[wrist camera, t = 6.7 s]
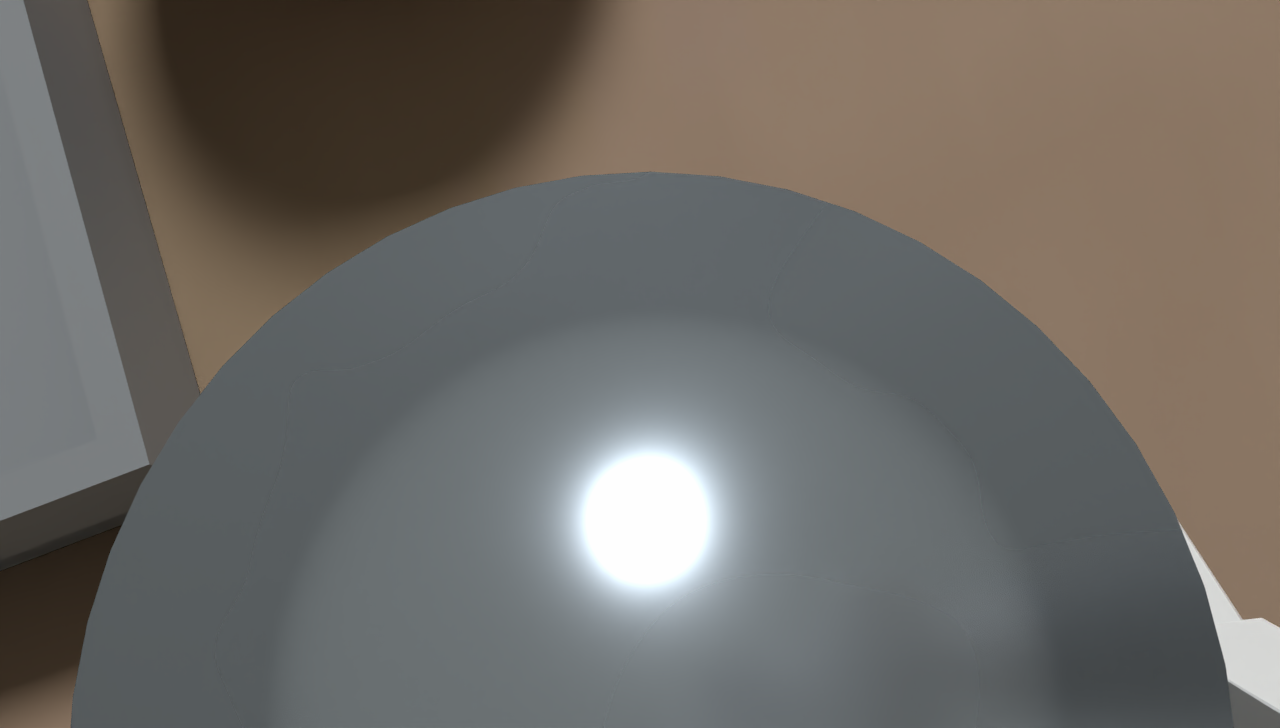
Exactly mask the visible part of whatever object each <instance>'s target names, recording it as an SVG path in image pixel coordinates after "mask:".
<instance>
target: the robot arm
mask: <svg viewBox="0 0 1280 728" xmlns="http://www.w3.org/2000/svg"><path fill="white" fill-rule="evenodd" d="M1178 522H1179V521H1178ZM1179 525H1180V527H1181V530H1182V532H1183V535H1184V537H1185V540H1186V542H1187V545H1188V547H1189V549H1190V552H1191V554H1192V557H1193V559H1194V562H1195V564H1196V567H1197V569H1198V572H1199V574H1200V576H1201V579H1202V581H1203V584H1204V586H1205V590H1206V594H1207V597H1208V601H1209V605H1210V609H1211V612H1212V616H1213V620H1214V624H1215V627H1216V631H1217V635H1218V639H1219V642H1220V646H1221V650H1222V654H1223V657H1224V661H1225V665H1226V672H1227V679H1228V686H1229V694H1230V701H1231V709H1232V716H1233V724H1234V728H1280V627H1278V626H1276V625H1274V624H1272V623H1270V622H1269V621H1267V620H1265V619H1263V618H1257V619H1248V620H1243V619H1242V618H1241V616H1240V615H1239V613H1238V612H1237V610H1236V608H1235V607H1234V605H1233V604H1232V602H1231V601H1230V599H1229V598H1228V596H1227V595H1226V593H1225V592H1224V590H1223V589H1222V587H1221V585H1220V584H1219V582H1218V581H1217V579H1216V578H1215V576H1214V575H1213V573H1212V572H1211V570H1210V569H1209V567H1208V566H1207V564H1206V562H1205V561H1204V559H1203V558H1202V556H1201V555H1200V553H1199V552H1198V550H1197V549H1196V547H1195V546H1194V544H1193V543H1192V541H1191V539H1190V538H1189V536H1188V535H1187V533H1186V532H1185V530H1184V529H1183V527H1182V526H1181V524H1180V523H1179Z"/></svg>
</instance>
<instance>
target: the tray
mask: <svg viewBox="0 0 1280 728" xmlns="http://www.w3.org/2000/svg"><path fill="white" fill-rule="evenodd" d="M199 396H200V392H199V389H198V385H197V382H196V378H195V375H194V371H193V368H192V364H191V361H190V357H189V354H188V350H187V347H186V343H185V340H184V336H183V333H182V329H181V326H180V322H179V319H178V315H177V312H176V308H175V305H174V301H173V298H172V294H171V291H170V287H169V284H168V281H167V277H166V274H165V270H164V267H163V263H162V260H161V256H160V253H159V249H158V246H157V242H156V239H155V235H154V232H153V228H152V225H151V221H150V218H149V214H148V211H147V207H146V204H145V200H144V197H143V193H142V190H141V186H140V183H139V179H138V176H137V172H136V169H135V165H134V162H133V158H132V155H131V151H130V148H129V144H128V141H127V137H126V134H125V131H124V127H123V124H122V120H121V117H120V113H119V110H118V106H117V103H116V99H115V96H114V92H113V89H112V85H111V82H110V78H109V75H108V71H107V68H106V64H105V61H104V57H103V54H102V50H101V47H100V43H99V40H98V36H97V33H96V29H95V26H94V22H93V19H92V15H91V12H90V8H89V5H88V1H87V0H0V571H1V570H4V569H7V568H9V567H12V566H14V565H17V564H20V563H22V562H25V561H28V560H30V559H33V558H36V557H38V556H41V555H43V554H46V553H49V552H51V551H54V550H57V549H59V548H62V547H65V546H67V545H70V544H72V543H75V542H78V541H80V540H83V539H86V538H88V537H91V536H94V535H96V534H99V533H102V532H104V531H107V530H109V529H112V528H115V527H117V526H120V525H122V524H123V522H124V520H125V518H126V516H127V514H128V511H129V509H130V507H131V505H132V503H133V500H134V498H135V496H136V494H137V492H138V489H139V487H140V485H141V483H142V482H143V480H144V478H145V477H146V475H147V473H148V472H149V470H150V468H151V467H152V465H153V463H154V462H155V460H156V459H157V457H158V455H159V454H160V452H161V450H162V449H163V447H164V445H165V444H166V442H167V440H168V439H169V437H170V436H171V434H172V432H173V431H174V429H175V427H176V426H177V424H178V422H179V421H180V420H181V419H182V417H183V416H184V415H185V413H186V412H187V411H188V410H189V408H190V407H191V406H192V405H193V403H194V402H195V401H196V399H197V398H198V397H199Z"/></svg>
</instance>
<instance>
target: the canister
mask: <svg viewBox="0 0 1280 728" xmlns="http://www.w3.org/2000/svg"><path fill="white" fill-rule="evenodd" d="M71 728H1234V724H1233V716H1232V709H1231V701H1230V694H1229V686H1228V679H1227V672H1226V665H1225V661H1224V657H1223V654H1222V650H1221V646H1220V642H1219V639H1218V635H1217V631H1216V627H1215V624H1214V620H1213V616H1212V612H1211V609H1210V605H1209V601H1208V597H1207V594H1206V590H1205V586H1204V584H1203V581H1202V579H1201V576H1200V574H1199V572H1198V569H1197V567H1196V564H1195V562H1194V559H1193V557H1192V554H1191V552H1190V549H1189V547H1188V545H1187V542H1186V540H1185V537H1184V535H1183V532H1182V530H1181V527H1180V525H1179V522H1178V520H1177V518H1176V515H1175V513H1174V511H1173V509H1172V507H1171V506H1170V504H1169V502H1168V500H1167V498H1166V497H1165V495H1164V493H1163V491H1162V489H1161V488H1160V486H1159V484H1158V482H1157V481H1156V479H1155V477H1154V475H1153V473H1152V472H1151V470H1150V468H1149V466H1148V465H1147V463H1146V461H1145V459H1144V457H1143V456H1142V454H1141V452H1140V450H1139V449H1138V447H1137V445H1136V443H1135V442H1134V441H1133V439H1132V438H1131V437H1130V435H1129V434H1128V433H1127V431H1126V430H1125V429H1124V427H1123V426H1122V424H1121V423H1120V422H1119V420H1118V419H1117V418H1116V416H1115V415H1114V414H1113V412H1112V411H1111V410H1110V408H1109V407H1108V406H1107V404H1106V403H1105V401H1104V400H1103V399H1102V397H1101V396H1100V395H1099V393H1098V392H1097V391H1096V389H1095V388H1094V387H1093V385H1092V384H1091V383H1090V381H1089V380H1088V379H1087V378H1086V377H1085V376H1084V375H1083V374H1082V373H1081V372H1080V371H1079V370H1078V369H1077V368H1076V367H1075V366H1074V365H1073V364H1072V362H1071V361H1070V360H1069V359H1068V358H1067V357H1066V356H1065V355H1064V354H1063V353H1062V352H1061V351H1060V350H1059V349H1058V348H1057V347H1056V346H1055V345H1054V344H1053V342H1052V341H1051V340H1050V339H1049V338H1048V337H1047V336H1046V335H1045V334H1044V333H1043V332H1042V331H1041V330H1040V329H1039V328H1038V327H1037V326H1036V325H1035V324H1033V323H1032V322H1031V321H1030V320H1028V319H1027V318H1026V317H1025V316H1024V315H1022V314H1021V313H1020V312H1019V311H1017V310H1016V309H1015V308H1014V307H1013V306H1011V305H1010V304H1009V303H1008V302H1007V301H1005V300H1004V299H1003V298H1002V297H1000V296H999V295H998V294H997V293H996V292H994V291H993V290H992V289H991V288H989V287H988V286H987V285H986V284H985V283H983V282H982V281H981V280H979V279H978V278H976V277H975V276H973V275H971V274H970V273H968V272H967V271H965V270H963V269H962V268H960V267H959V266H957V265H955V264H954V263H952V262H951V261H949V260H948V259H946V258H944V257H943V256H941V255H940V254H938V253H936V252H935V251H933V250H932V249H930V248H929V247H927V246H925V245H924V244H922V243H921V242H919V241H917V240H915V239H912V238H910V237H908V236H906V235H904V234H902V233H900V232H897V231H895V230H893V229H891V228H889V227H887V226H885V225H883V224H880V223H878V222H876V221H874V220H872V219H870V218H868V217H866V216H863V215H861V214H859V213H857V212H855V211H852V210H849V209H846V208H843V207H840V206H836V205H833V204H830V203H827V202H824V201H821V200H818V199H815V198H812V197H809V196H806V195H803V194H800V193H796V192H793V191H790V190H787V189H782V188H777V187H771V186H766V185H761V184H756V183H751V182H745V181H740V180H735V179H730V178H725V177H719V176H705V175H690V174H675V173H660V172H639V173H622V174H605V175H587V176H578V177H573V178H567V179H562V180H556V181H551V182H545V183H540V184H534V185H529V186H523V187H518V188H513V189H510V190H507V191H504V192H500V193H497V194H494V195H491V196H488V197H484V198H481V199H478V200H475V201H472V202H468V203H465V204H462V205H459V206H456V207H452V208H449V209H447V210H445V211H443V212H440V213H438V214H436V215H434V216H432V217H429V218H427V219H425V220H423V221H420V222H418V223H416V224H414V225H412V226H409V227H407V228H405V229H403V230H401V231H398V232H396V233H394V234H392V235H390V236H387V237H386V238H384V239H382V240H381V241H379V242H377V243H376V244H374V245H372V246H371V247H369V248H367V249H366V250H364V251H362V252H361V253H359V254H358V255H356V256H354V257H353V258H351V259H349V260H348V261H346V262H344V263H343V264H341V265H339V266H338V267H336V268H335V269H333V270H331V271H330V272H328V273H327V274H325V275H324V276H323V277H321V278H320V279H319V280H318V281H316V282H315V283H314V284H313V285H311V286H310V287H309V288H308V289H306V290H305V291H304V292H302V293H301V294H300V295H299V296H297V297H296V298H295V299H294V300H292V301H291V302H290V303H288V304H287V305H286V306H285V307H283V308H282V309H281V310H280V311H278V312H277V313H276V314H274V315H273V316H272V317H271V318H270V319H269V320H268V321H267V322H266V323H265V324H264V325H263V326H262V327H261V328H260V329H259V330H258V331H257V332H256V333H255V334H254V335H253V336H252V337H251V338H250V339H249V340H248V341H247V342H246V343H245V344H244V345H243V346H242V347H241V348H240V349H239V350H238V351H237V352H236V353H235V354H234V355H233V356H232V357H231V358H230V359H229V360H228V361H227V362H226V363H225V364H224V365H223V366H222V368H221V369H220V370H219V371H218V373H217V374H216V375H215V376H214V378H213V379H212V380H211V382H210V383H209V384H208V385H207V387H206V388H205V389H204V390H203V392H202V393H201V394H200V396H199V397H198V398H197V399H196V401H195V402H194V403H193V405H192V406H191V407H190V408H189V410H188V411H187V412H186V413H185V415H184V416H183V417H182V419H181V420H180V421H179V422H178V424H177V426H176V427H175V429H174V431H173V432H172V434H171V436H170V437H169V439H168V440H167V442H166V444H165V445H164V447H163V449H162V450H161V452H160V454H159V455H158V457H157V459H156V460H155V462H154V463H153V465H152V467H151V468H150V470H149V472H148V473H147V475H146V477H145V478H144V480H143V482H142V483H141V485H140V487H139V489H138V492H137V494H136V496H135V498H134V500H133V503H132V505H131V507H130V509H129V511H128V514H127V516H126V518H125V520H124V522H123V524H122V527H121V529H120V531H119V533H118V535H117V538H116V540H115V542H114V544H113V546H112V549H111V551H110V554H109V557H108V560H107V563H106V566H105V569H104V572H103V576H102V579H101V582H100V585H99V588H98V591H97V594H96V597H95V600H94V604H93V607H92V610H91V613H90V616H89V619H88V622H87V627H86V633H85V638H84V643H83V648H82V653H81V658H80V664H79V669H78V674H77V679H76V684H75V689H74V694H73V704H72V718H71Z"/></svg>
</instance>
